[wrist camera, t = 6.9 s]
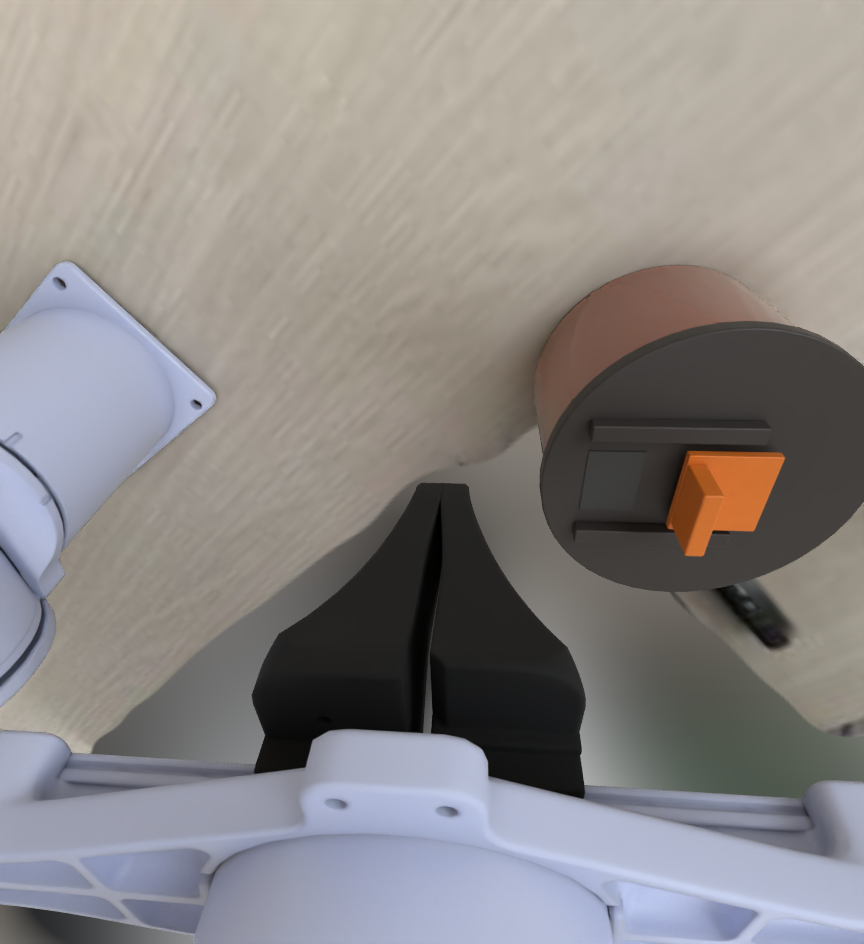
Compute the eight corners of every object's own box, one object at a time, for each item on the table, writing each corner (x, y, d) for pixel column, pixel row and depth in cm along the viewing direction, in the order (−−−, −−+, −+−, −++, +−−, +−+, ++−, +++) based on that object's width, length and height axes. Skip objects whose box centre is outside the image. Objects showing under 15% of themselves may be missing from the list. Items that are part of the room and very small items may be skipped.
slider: (665, 523, 19) (681, 563, 17) (686, 450, 17) (707, 488, 15) (750, 526, 19) (775, 567, 17) (781, 452, 17) (812, 490, 15)
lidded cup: (519, 478, 27) (530, 597, 21) (537, 257, 21) (560, 334, 15) (739, 482, 27) (818, 608, 20) (826, 255, 20) (978, 335, 14)
